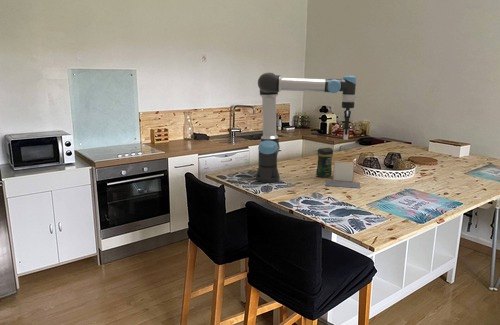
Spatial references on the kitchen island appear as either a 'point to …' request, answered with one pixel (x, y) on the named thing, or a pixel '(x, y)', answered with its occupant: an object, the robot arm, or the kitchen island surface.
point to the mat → (342, 184)
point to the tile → (343, 171)
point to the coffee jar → (324, 162)
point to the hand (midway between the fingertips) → (345, 138)
